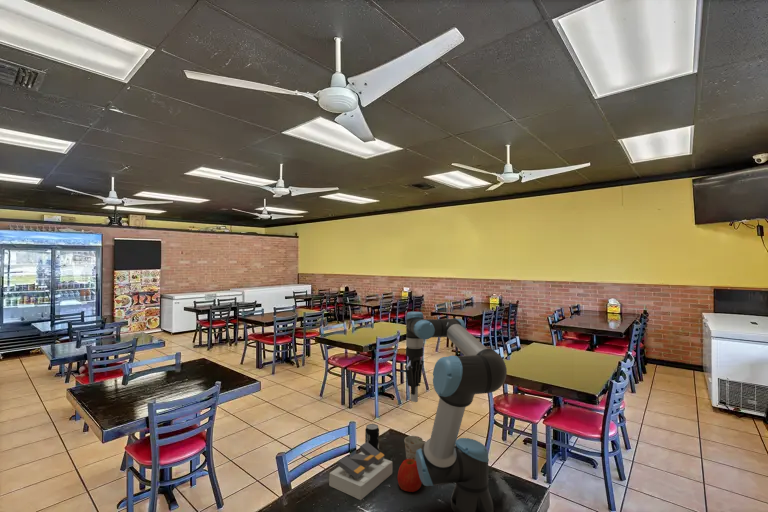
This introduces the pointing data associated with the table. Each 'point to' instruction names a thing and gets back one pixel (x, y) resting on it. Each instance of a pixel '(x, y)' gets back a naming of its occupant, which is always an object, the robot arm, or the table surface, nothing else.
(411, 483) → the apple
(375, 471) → the switch unit
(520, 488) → the table surface
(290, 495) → the table surface
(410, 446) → the mug
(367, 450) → the rocker right
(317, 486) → the table surface
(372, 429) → the beverage can
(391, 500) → the table surface
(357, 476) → the rocker left
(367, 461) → the rocker mid
